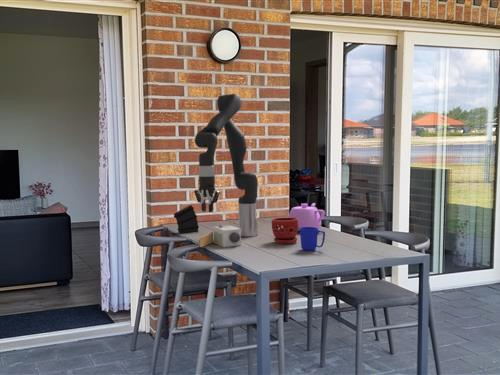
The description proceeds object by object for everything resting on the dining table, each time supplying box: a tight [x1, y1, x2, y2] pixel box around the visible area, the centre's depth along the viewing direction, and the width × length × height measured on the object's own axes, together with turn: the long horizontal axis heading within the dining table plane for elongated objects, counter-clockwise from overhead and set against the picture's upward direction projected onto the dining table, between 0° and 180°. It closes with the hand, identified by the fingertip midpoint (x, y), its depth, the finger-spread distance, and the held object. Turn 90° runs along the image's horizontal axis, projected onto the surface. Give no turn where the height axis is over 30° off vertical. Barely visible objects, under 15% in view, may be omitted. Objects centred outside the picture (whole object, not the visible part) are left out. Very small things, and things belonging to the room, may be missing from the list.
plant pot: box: [271, 216, 299, 245], centre depth 283 cm, size 13×13×12 cm
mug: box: [299, 227, 326, 252], centre depth 264 cm, size 8×12×10 cm
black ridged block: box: [173, 204, 200, 234], centre depth 315 cm, size 4×13×15 cm, turn 108°
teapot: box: [288, 202, 326, 232], centre depth 320 cm, size 23×21×15 cm
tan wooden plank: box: [198, 231, 214, 248], centre depth 279 cm, size 2×14×5 cm, turn 160°
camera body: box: [213, 224, 242, 248], centre depth 280 cm, size 9×15×9 cm, turn 25°
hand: (207, 211), depth 271 cm, fingers open, 3 cm apart
